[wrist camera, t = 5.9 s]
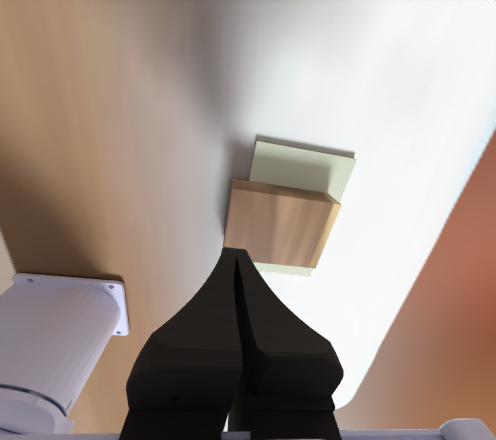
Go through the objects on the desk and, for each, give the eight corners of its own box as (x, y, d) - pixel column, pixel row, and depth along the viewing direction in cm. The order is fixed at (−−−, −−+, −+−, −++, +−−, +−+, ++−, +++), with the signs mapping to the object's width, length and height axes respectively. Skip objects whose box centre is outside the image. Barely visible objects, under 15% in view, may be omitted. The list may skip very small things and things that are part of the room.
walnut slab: (222, 259, 17) (315, 268, 18) (232, 188, 14) (341, 204, 15) (223, 242, 19) (306, 251, 20) (232, 178, 16) (327, 192, 17)
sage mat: (233, 266, 21) (233, 268, 20) (256, 140, 16) (256, 141, 15) (308, 273, 22) (309, 276, 22) (354, 158, 17) (356, 159, 16)
